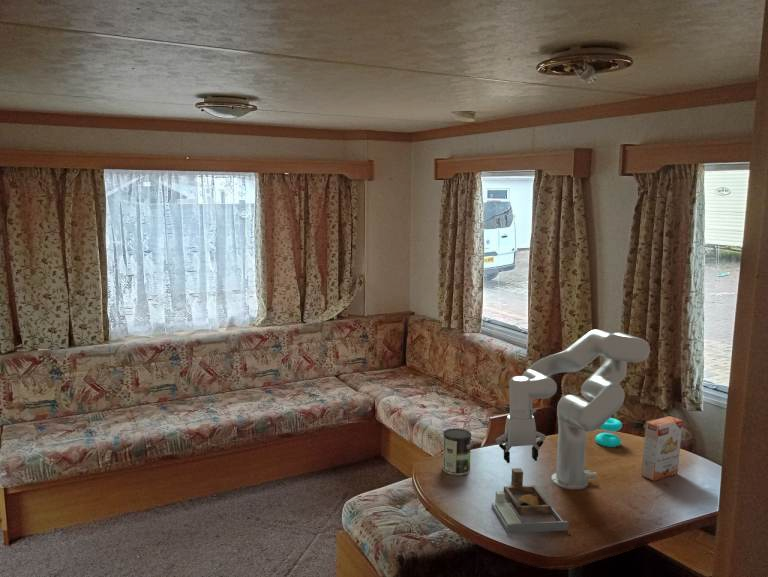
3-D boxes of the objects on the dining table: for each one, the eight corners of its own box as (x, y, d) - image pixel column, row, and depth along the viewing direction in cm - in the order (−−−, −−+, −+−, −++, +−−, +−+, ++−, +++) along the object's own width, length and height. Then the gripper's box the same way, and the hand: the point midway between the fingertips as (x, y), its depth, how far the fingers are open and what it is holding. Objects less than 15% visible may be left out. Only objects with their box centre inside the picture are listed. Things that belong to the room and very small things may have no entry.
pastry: (522, 498, 215) (523, 487, 215) (542, 503, 212) (543, 492, 211) (514, 509, 207) (515, 498, 206) (535, 515, 204) (535, 503, 203)
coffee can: (471, 465, 241) (472, 429, 239) (469, 476, 231) (470, 439, 229) (443, 462, 243) (444, 427, 241) (440, 473, 233) (441, 436, 231)
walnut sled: (530, 486, 222) (531, 467, 221) (550, 513, 204) (552, 492, 203) (499, 488, 221) (500, 468, 220) (517, 514, 202) (518, 494, 201)
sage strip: (505, 502, 211) (505, 490, 210) (523, 530, 193) (524, 518, 192) (492, 502, 210) (492, 491, 210) (509, 531, 192) (509, 518, 192)
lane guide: (547, 505, 210) (547, 496, 209) (567, 531, 194) (567, 521, 193) (491, 507, 208) (492, 498, 207) (507, 534, 191) (507, 524, 191)
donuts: (599, 423, 259) (594, 415, 269) (597, 447, 260) (593, 438, 270) (625, 425, 258) (619, 417, 267) (623, 449, 259) (617, 439, 269)
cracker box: (654, 482, 228) (659, 426, 226) (640, 476, 234) (644, 421, 231) (679, 474, 236) (683, 419, 233) (664, 468, 241) (669, 414, 238)
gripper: (541, 407, 221) (541, 453, 224) (492, 411, 219) (493, 458, 222) (549, 414, 214) (549, 462, 217) (499, 418, 212) (499, 467, 215)
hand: (520, 460), depth 219 cm, fingers open, 9 cm apart
